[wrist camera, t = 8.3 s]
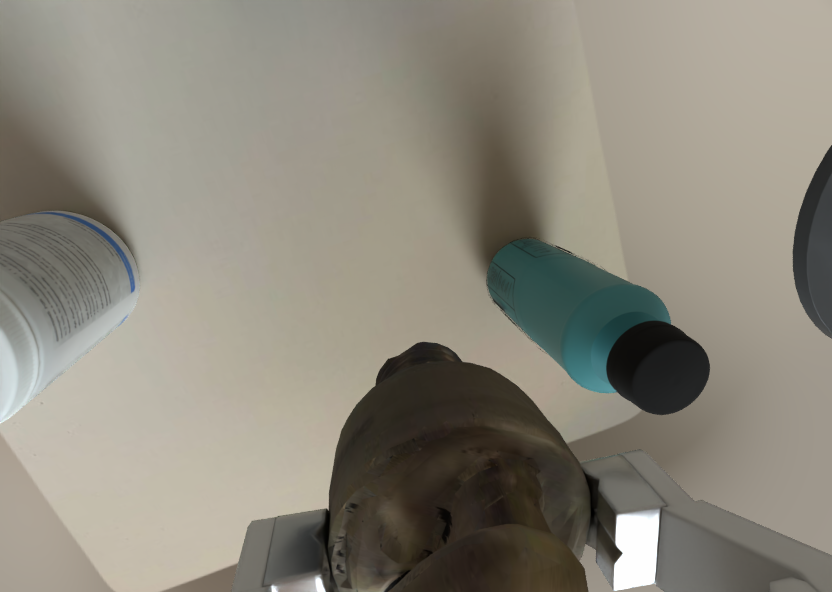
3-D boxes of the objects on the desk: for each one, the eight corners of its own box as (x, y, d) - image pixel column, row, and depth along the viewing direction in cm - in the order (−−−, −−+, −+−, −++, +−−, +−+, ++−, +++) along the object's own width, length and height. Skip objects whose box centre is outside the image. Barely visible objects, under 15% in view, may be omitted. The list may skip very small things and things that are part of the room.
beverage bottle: (464, 288, 39) (575, 418, 21) (504, 217, 38) (661, 287, 19) (527, 318, 41) (683, 464, 22) (568, 251, 40) (769, 347, 21)
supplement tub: (7, 191, 32) (-243, 227, 19) (154, 230, 35) (28, 287, 21) (-3, 319, 35) (-232, 434, 21) (134, 347, 37) (9, 469, 23)
